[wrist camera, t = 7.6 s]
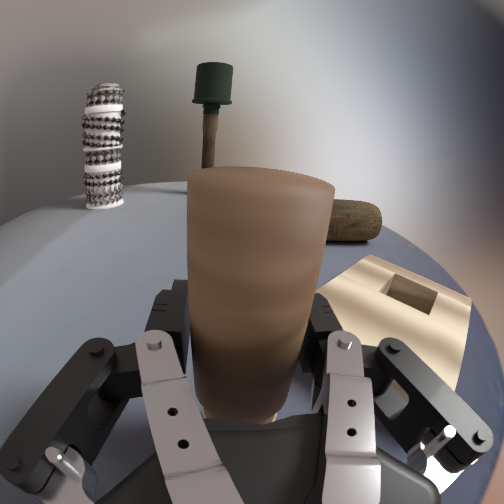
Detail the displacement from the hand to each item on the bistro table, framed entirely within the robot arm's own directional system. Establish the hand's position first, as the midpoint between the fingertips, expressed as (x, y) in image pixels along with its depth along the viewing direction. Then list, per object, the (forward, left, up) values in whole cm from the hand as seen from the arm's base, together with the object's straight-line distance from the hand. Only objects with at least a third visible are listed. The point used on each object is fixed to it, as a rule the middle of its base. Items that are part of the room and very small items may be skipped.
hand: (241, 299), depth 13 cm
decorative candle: (+8, +50, -8) cm, 51 cm away
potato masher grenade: (+30, +43, -8) cm, 53 cm away
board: (+15, -5, -8) cm, 18 cm away
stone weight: (+31, +11, -8) cm, 34 cm away
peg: (-2, -2, -8) cm, 8 cm away
